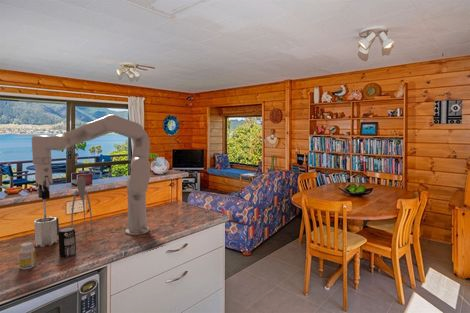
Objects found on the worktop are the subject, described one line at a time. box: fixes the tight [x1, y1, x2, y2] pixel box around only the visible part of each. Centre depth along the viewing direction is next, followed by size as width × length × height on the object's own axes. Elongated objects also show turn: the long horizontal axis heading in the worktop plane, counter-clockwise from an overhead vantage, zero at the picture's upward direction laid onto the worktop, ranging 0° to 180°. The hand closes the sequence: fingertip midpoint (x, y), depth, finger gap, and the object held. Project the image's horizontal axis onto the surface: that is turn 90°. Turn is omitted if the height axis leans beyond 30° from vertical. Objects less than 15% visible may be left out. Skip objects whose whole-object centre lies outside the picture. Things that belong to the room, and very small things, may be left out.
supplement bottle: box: [18, 241, 37, 270], centre depth 119 cm, size 5×5×10 cm
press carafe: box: [33, 216, 60, 248], centre depth 144 cm, size 12×9×12 cm
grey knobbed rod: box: [38, 189, 47, 222], centre depth 142 cm, size 6×6×18 cm
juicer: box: [70, 175, 93, 230], centre depth 165 cm, size 10×9×30 cm
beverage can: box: [57, 226, 77, 258], centre depth 130 cm, size 7×7×12 cm
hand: (44, 197), depth 141 cm, fingers closed on grey knobbed rod, 4 cm apart
